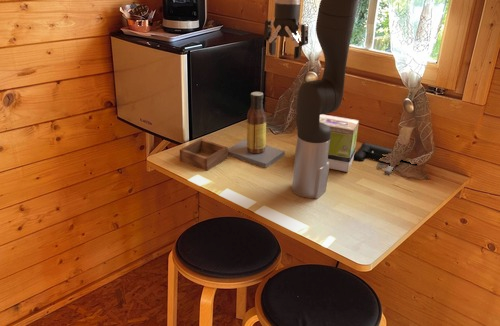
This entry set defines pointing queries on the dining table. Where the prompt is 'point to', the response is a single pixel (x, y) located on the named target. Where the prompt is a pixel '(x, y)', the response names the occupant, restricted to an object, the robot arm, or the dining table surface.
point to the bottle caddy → (205, 163)
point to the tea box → (341, 141)
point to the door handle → (372, 154)
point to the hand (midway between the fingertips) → (284, 56)
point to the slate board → (258, 159)
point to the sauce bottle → (256, 124)
